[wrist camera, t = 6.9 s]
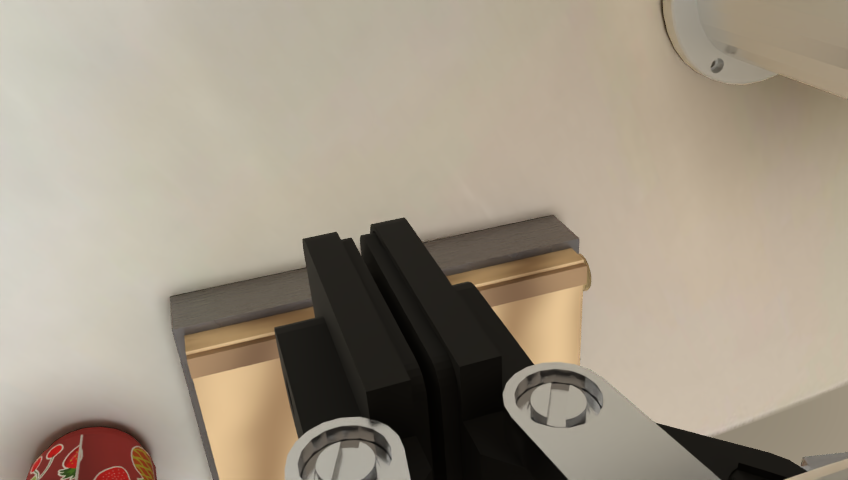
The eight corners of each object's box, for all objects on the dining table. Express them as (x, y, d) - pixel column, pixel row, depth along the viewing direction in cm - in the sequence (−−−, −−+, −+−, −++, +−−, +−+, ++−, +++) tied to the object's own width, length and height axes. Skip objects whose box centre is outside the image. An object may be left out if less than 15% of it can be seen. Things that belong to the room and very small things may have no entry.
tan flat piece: (571, 247, 44) (602, 276, 41) (564, 452, 51) (590, 489, 48) (184, 335, 38) (187, 376, 35) (240, 549, 46) (247, 597, 43)
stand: (570, 211, 47) (597, 234, 44) (563, 418, 55) (585, 448, 52) (170, 296, 41) (172, 329, 38) (228, 514, 49) (233, 554, 46)
